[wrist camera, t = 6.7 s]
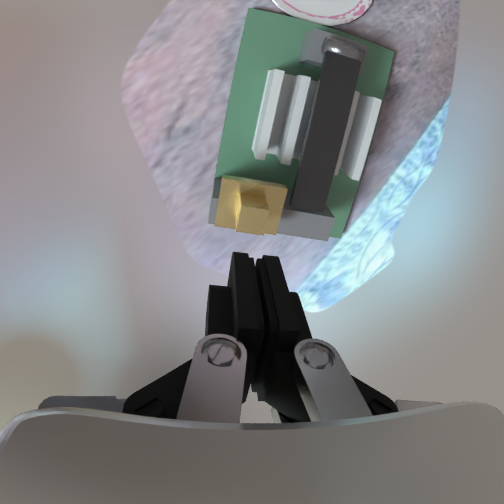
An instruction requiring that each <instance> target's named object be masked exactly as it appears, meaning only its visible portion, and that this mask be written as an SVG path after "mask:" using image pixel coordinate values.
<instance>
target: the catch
mask: <svg viewBox="0 0 504 504" xmlns="http://www.w3.org/2000/svg"><path fill="white" fill-rule="evenodd" d="M287 190H288V189H287V187H286V185H283V184H277V183H272V182H266V181H260V180H254V179H248V178H242V177H236V176H229V175H223V176H222V182H221V187H220V193H219V199H218V205H217V212H216V218H215V226H217V227H224V228H231V229H236V231H237V232H244V233H251V234H257V235H264V233H266V234H273V235H276V233H277V229H278V225H279V222H280V218H281V214H282V210H283V206H284V202H285V198H286V194H287Z"/></svg>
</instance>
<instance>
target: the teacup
mask: <svg viewBox="0 0 504 504" xmlns="http://www.w3.org/2000/svg"><path fill="white" fill-rule="evenodd" d="M271 1H272V2H273V3H274V4H275V5H276V6H277V7H278V8H279V9H281V10H282V11H284V12H285V13H287V14H289V15H290V16H292V17H294V18H298V19H302V20H305V21H309V22H313V23H316V24H320V25H324V26H335V25H340V24H346V23H349V22H351V21H353V20H355V19H357V18H358V17H360V16H362V15H363V14H364V13H365V11H366V10H367V9H368V8H369V7H370V6H371V4H372V1H373V0H271Z"/></svg>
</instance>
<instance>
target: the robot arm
mask: <svg viewBox="0 0 504 504" xmlns="http://www.w3.org/2000/svg"><path fill="white" fill-rule="evenodd" d="M205 329H206V330H205V337H203V338H202V339H201V340H200V341H199V342H198V344H197V346H196V348H195V352H194V355H193V358H192V359H191V360H189V361H187V362H186V363H184V364H183V365H181V366H179V367H178V368H176V369H174V370H173V371H171V372H169V373H167V374H166V375H164V376H162V377H161V378H159V379H157V380H156V381H154V382H152V383H150V384H149V385H147V386H145V387H143V388H142V389H140V390H138V391H136V392H135V393H133V394H132V395H131V396H129V397H128V398H127V399H116V396H52V397H48V398H46V399H45V400H43V401H42V403H41V404H40V405H39V407H38V409H36V410H31V411H27V412H24V413H21V414H19V415H17V416H15V417H13V418H12V419H11V420H10V421H9V422H8V423H7V424H6V425H5V426H4V428H3V429H2V431H1V432H0V504H504V414H503V413H502V412H501V411H500V410H498V409H497V408H496V407H493V406H491V405H487V404H484V403H479V402H454V403H446V404H443V403H439V402H422V401H407V400H396V401H395V403H394V402H393V401H392V400H391V399H390V398H388V397H387V396H385V395H383V394H382V393H380V392H379V391H377V390H375V389H374V388H372V387H370V386H368V385H367V384H365V383H363V382H362V381H360V380H358V379H357V378H355V377H353V376H352V375H350V373H349V371H348V369H347V368H346V366H345V364H344V362H343V360H342V359H341V357H340V355H339V353H338V352H337V350H336V349H335V348H334V347H333V346H332V345H330V344H329V343H327V342H325V341H323V340H319V339H312V336H311V333H310V330H309V326H308V323H307V320H306V317H305V314H304V311H303V308H302V305H301V301H300V298H299V296H298V294H297V293H296V292H289V290H288V287H287V283H286V280H285V276H284V273H283V270H282V266H281V263H280V260H279V257H277V256H267V255H263V257H262V259H259V258H258V259H257V261H256V265H255V264H254V258H249V256H248V253H239V252H233V254H232V259H231V265H230V272H229V279H228V285H227V286H216V285H209V292H208V301H207V312H206V328H205ZM250 384H251V388H252V392H257V395H258V401H265V402H266V403H268V404H269V405H271V406H272V409H271V411H272V417H273V420H274V422H275V423H267V424H266V423H262V424H261V423H258V424H256V423H253V424H252V423H240V415H241V406H242V403H244V402H245V401H246V397H247V394H248V391H249V387H250Z"/></svg>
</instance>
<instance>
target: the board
mask: <svg viewBox="0 0 504 504" xmlns="http://www.w3.org/2000/svg"><path fill="white" fill-rule="evenodd" d="M326 37H330V38H333V39H336V40H339V41H342V42H345V43H348V44H351V45H354V46H357V47H360V48H362V49H364V50H365V58H364V60H363V62H362V64H361V67H360V71H359V76H358V80H357V85H356V89H355V93H354V98H353V102H352V106H351V110H350V114H349V119H348V123H347V127H346V131H345V135H344V139H343V142H342V146H341V150H340V154H339V158H338V161H337V165H336V169H335V173H334V176H333V180H332V184H331V187H330V191H329V194H328V198H327V201H326V205H325V208H324V212H319V211H314V210H308V209H303V208H297V207H291V206H290V205H289V202H290V198H291V194H292V190H293V186H294V182H295V178H296V174H297V170H298V165H299V161H300V157H301V153H302V149H303V145H304V140H305V136H306V132H307V128H308V123H309V119H310V115H311V110H312V106H313V102H314V97H315V93H316V88H317V84H318V80H319V75H320V71H321V66H322V62H323V57H324V54H322V52H321V49H322V44H323V41H324V39H325V38H326ZM393 56H394V52H393V51H391V50H389V49H387V48H384V47H382V46H379V45H377V44H374V43H372V42H369V41H367V40H364V39H361V38H359V37H356V36H353V35H350V34H348V33H345V32H342V31H339V30H336V29H333V28H329V27H326V26H323V25H320V24H316V23H313V22H309V21H305V20H302V19H298V18H294V17H290V16H286V15H281V14H277V13H272V12H267V11H262V10H257V9H252V8H249V9H248V13H247V17H246V22H245V26H244V30H243V35H242V39H241V44H240V48H239V53H238V57H237V62H236V67H235V72H234V77H233V81H232V86H231V91H230V96H229V102H228V107H227V112H226V117H225V123H224V128H223V134H222V139H221V145H220V150H219V156H218V162H217V168H216V174H215V180H214V186H213V193H212V199H211V205H210V212H209V222H208V223H209V224H215V218H216V212H217V205H218V199H219V193H220V187H221V182H222V176H223V175H229V176H236V177H242V178H248V179H254V180H260V181H266V182H272V183H277V184H283V185H286V187H287V189H288V190H287V194H286V198H285V202H284V206H283V210H282V214H281V218H280V222H279V225H278V229H277V233H278V234H285V235H291V236H298V237H304V238H311V239H317V240H324V241H328V238H329V237H335V238H341V236H342V233H343V230H344V227H345V224H346V222H347V219H348V216H349V213H350V210H351V207H352V204H353V201H354V198H355V195H356V191H357V188H358V185H359V182H360V179H361V176H362V172H363V169H364V166H365V163H366V159H367V156H368V153H369V149H370V146H371V142H372V139H373V135H374V132H375V128H376V124H377V121H378V117H379V113H380V109H381V106H382V102H383V98H384V94H385V90H386V86H387V82H388V77H389V73H390V69H391V65H392V60H393Z"/></svg>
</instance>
